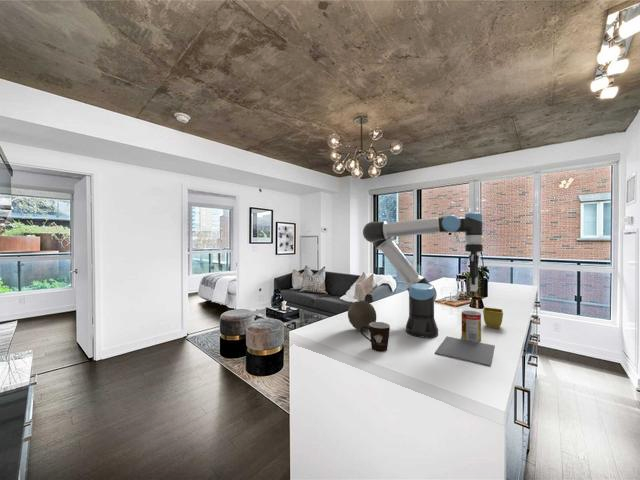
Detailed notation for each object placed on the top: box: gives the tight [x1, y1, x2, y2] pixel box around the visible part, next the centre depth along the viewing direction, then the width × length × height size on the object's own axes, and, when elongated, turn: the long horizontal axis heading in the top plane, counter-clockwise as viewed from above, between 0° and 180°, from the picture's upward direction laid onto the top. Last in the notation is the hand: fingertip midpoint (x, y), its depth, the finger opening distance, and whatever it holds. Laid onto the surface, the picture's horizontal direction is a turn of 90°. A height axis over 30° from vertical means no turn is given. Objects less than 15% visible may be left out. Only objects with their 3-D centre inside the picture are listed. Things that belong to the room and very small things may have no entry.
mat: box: [434, 336, 496, 367], centre depth 112 cm, size 19×23×1 cm
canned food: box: [461, 310, 482, 342], centre depth 126 cm, size 8×8×12 cm
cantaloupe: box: [347, 300, 377, 332], centre depth 136 cm, size 14×14×15 cm
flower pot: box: [482, 306, 504, 329], centre depth 143 cm, size 9×9×9 cm
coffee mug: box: [359, 321, 391, 353], centre depth 115 cm, size 12×9×10 cm
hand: (474, 290), depth 135 cm, fingers open, 4 cm apart
